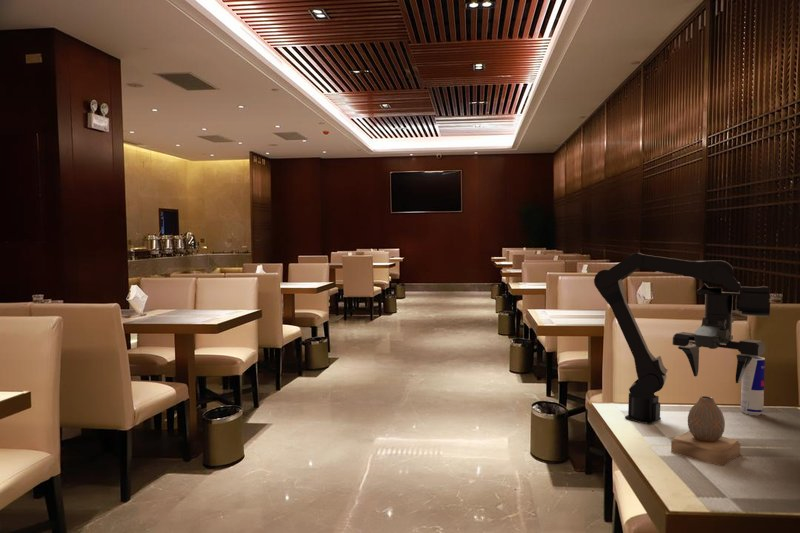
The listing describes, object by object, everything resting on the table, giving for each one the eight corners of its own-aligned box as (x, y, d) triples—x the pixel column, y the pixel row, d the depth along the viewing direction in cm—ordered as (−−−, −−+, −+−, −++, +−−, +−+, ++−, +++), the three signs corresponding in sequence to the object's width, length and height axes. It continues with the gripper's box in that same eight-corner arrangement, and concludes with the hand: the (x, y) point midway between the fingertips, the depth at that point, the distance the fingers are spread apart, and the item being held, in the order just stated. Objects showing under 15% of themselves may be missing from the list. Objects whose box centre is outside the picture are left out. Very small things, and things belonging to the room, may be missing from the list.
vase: (680, 434, 127) (681, 393, 127) (711, 433, 128) (712, 393, 128) (699, 444, 121) (700, 401, 120) (731, 444, 121) (733, 401, 121)
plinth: (671, 452, 125) (671, 438, 125) (690, 442, 131) (690, 428, 131) (722, 465, 117) (722, 450, 117) (740, 454, 124) (740, 440, 124)
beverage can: (766, 416, 153) (768, 358, 152) (744, 415, 154) (746, 357, 153) (758, 411, 158) (760, 355, 157) (737, 410, 159) (739, 354, 158)
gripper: (663, 312, 141) (661, 377, 142) (750, 320, 128) (748, 392, 128) (683, 309, 149) (681, 371, 149) (767, 316, 135) (764, 384, 136)
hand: (716, 379), depth 140 cm, fingers open, 9 cm apart
